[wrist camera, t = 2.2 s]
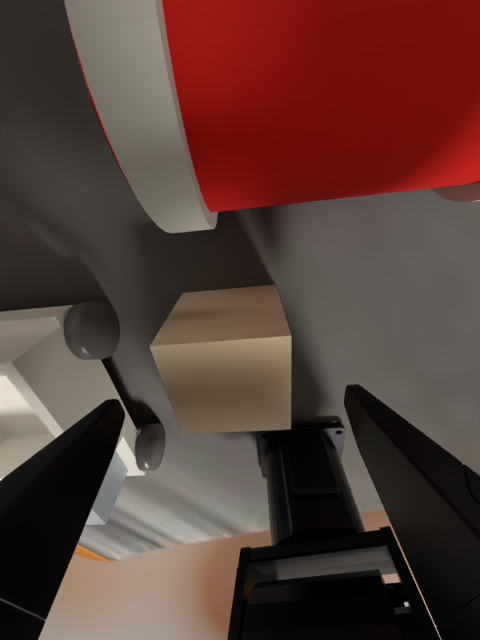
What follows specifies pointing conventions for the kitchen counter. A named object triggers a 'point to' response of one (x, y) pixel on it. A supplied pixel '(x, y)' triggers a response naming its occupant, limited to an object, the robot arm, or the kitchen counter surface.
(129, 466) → the toy truck
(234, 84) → the toy hammer
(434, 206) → the kitchen counter surface
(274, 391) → the cream wooden cube
